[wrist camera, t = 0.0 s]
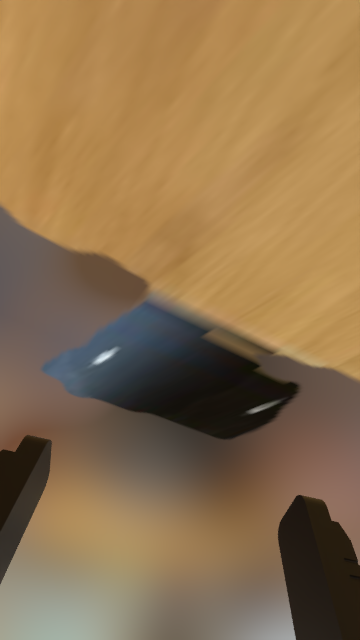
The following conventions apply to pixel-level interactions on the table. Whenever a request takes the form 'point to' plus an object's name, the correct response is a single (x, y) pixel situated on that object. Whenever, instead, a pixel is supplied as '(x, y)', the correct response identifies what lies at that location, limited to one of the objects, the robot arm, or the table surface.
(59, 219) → the table surface
